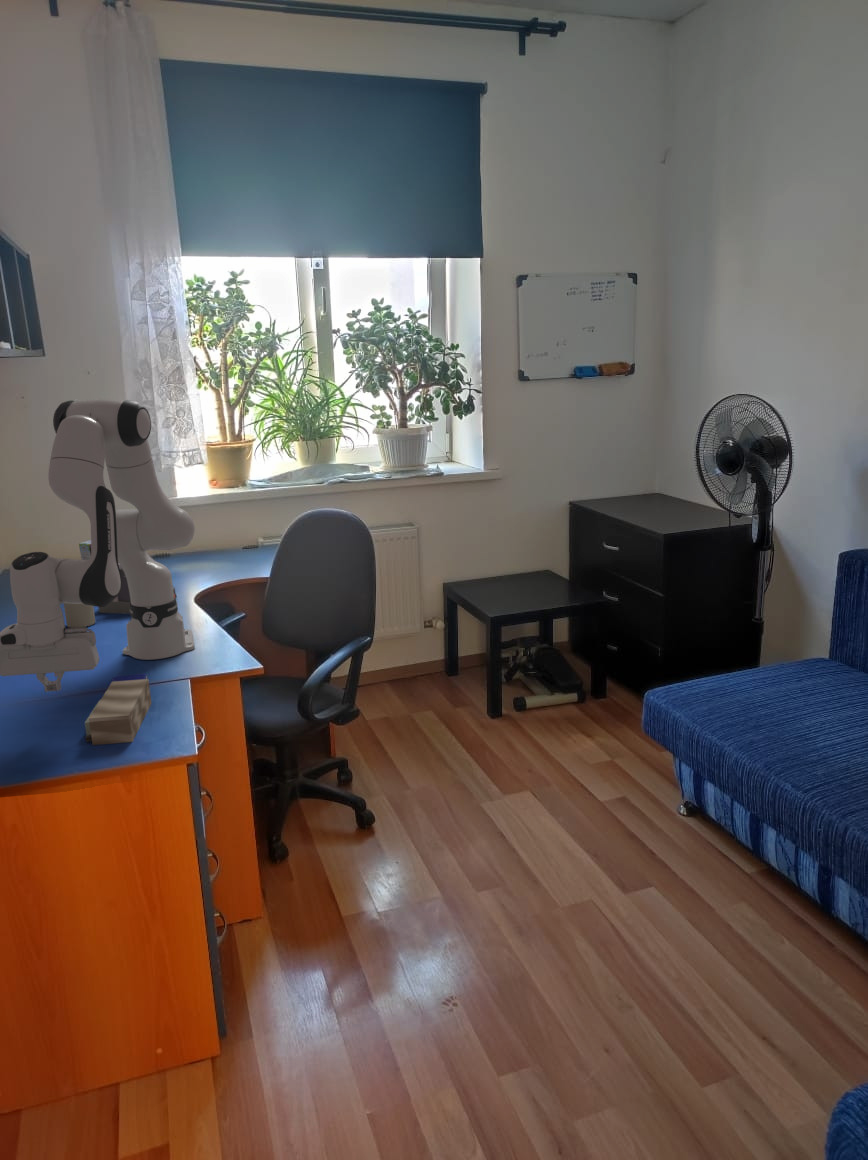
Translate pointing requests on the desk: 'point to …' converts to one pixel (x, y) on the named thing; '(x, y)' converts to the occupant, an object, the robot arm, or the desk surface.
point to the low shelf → (120, 712)
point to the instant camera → (121, 598)
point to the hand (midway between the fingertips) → (53, 690)
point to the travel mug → (79, 615)
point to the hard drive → (129, 677)
